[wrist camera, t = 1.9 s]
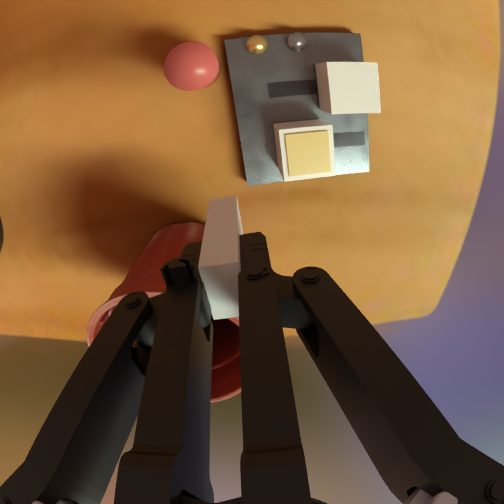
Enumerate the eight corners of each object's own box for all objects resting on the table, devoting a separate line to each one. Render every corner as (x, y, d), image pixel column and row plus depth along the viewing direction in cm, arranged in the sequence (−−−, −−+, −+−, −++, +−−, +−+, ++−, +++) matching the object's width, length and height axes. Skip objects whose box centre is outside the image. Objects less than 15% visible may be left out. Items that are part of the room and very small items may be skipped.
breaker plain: (319, 109, 28) (331, 114, 25) (315, 63, 25) (326, 61, 22) (364, 108, 28) (380, 113, 25) (360, 63, 25) (377, 62, 22)
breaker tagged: (278, 169, 31) (284, 182, 28) (272, 123, 29) (278, 130, 25) (323, 164, 31) (335, 176, 28) (320, 119, 29) (333, 125, 25)
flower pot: (146, 311, 43) (123, 403, 30) (114, 212, 35) (57, 296, 21) (256, 304, 44) (266, 401, 30) (247, 197, 35) (258, 284, 21)
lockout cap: (181, 92, 28) (168, 95, 22) (175, 54, 26) (160, 48, 20) (223, 84, 28) (221, 85, 22) (217, 45, 25) (213, 36, 20)
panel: (246, 181, 34) (247, 188, 32) (224, 42, 25) (224, 39, 23) (364, 167, 33) (371, 173, 32) (355, 35, 25) (363, 32, 23)
